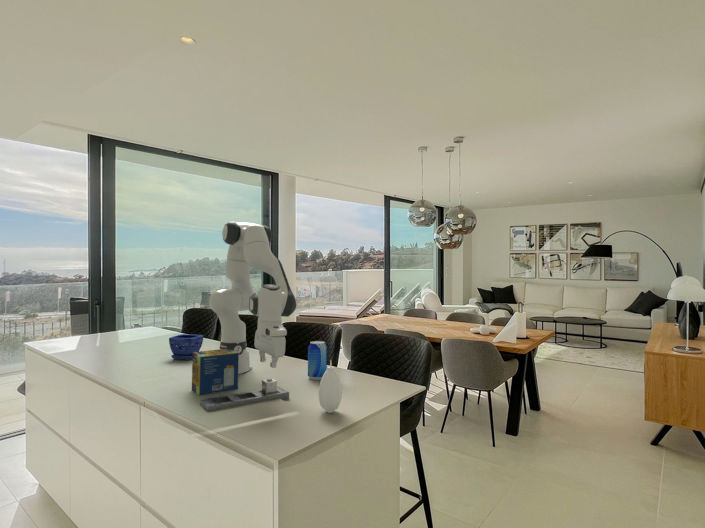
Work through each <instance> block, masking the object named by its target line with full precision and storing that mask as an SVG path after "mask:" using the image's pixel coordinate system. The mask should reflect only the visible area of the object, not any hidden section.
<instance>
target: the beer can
mask: <svg viewBox="0 0 705 528" xmlns="http://www.w3.org/2000/svg"><path fill="white" fill-rule="evenodd" d="M309 342H310V343H309V345H308V347H307V377H308V378H309V379H310V380H313V381H321V379H322V377H323V375H324V373H325V371H326V370H327V367H328V365H327V364H328V363H327V362H328V358H327V357H328V346H327V345H326V342H325V341H322V340H314V341H309Z"/></svg>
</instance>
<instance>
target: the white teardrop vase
mask: <svg viewBox="0 0 705 528" xmlns="http://www.w3.org/2000/svg"><path fill="white" fill-rule="evenodd" d="M342 394H343V388H342V384H341V379H340V377H339V374H338V372H337V371H336V370H335V366H333V365H332V359H330V362H329V366H327V370H326V371H325V373H324V375H323V377H322V379H321V380H320V383H319V386H318V400H319V404H320V406H321V409H323V410H324V412H325V413H328V414H333V413H334V412H336V410H338V408H340V407H339V406H340V404H341V402H342V396H343V395H342Z"/></svg>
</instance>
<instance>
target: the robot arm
mask: <svg viewBox="0 0 705 528" xmlns="http://www.w3.org/2000/svg"><path fill="white" fill-rule="evenodd" d="M221 233H222V240H223V242H224V243H225V244H227V245H229V246H228V249H227V255H226V261H225V263H226V264H225V272H224V275H225V277H226V278H227V279H228V280H229V281H230V282H231V288H222V289H218V290H216V291H213V292H212V293H211V294H210V296H209V298H208V303H209V307H210V309H211V311H212V312H214V313H215V314H216V316H217V317H218V319H219V323H220V327H221V329H220V330H221V331H220V332H221V335H220V336H221V339H220V340H221V341H220V343H219V349H227V348H230V349H232V350H234V351H235V352H237V353H239V360H238V375H239V374H240V375H241V374H245V373H246V372H248V371H251V370H252V369H253V366H252V365H251V364H250V362H251V361H250V351H248V350H247V344H248V343H247V339H246V337H247V334H246V332H247V331H246V330H247V327H246V326H247V325H246V323H245V322H244V321H243V320H241V318H240V316H239V312H243V311H244V312H245V311H249V312H250V313H251V314H252V315H253V316H256V317H258V318H257V329H256V330H255V334H254V342H253V343H254V348H255V349H256V350H258V355H259V361H260V362H261V363H266V362H267V357H266V354H267V355H269V356H271V361H270V368H272V369H274V368H277V365H278V364H277V363H278V361H279V358H283V357H284V356H285V353H286V343H287V340H286V337H285V336H287V334H288V330H287V329H286V327H284V324H283V323H282V317H285V318H287V317H290V316H291V315H292V314H293V313H294V312H295V311H296V308H297V300H296V297H295V294H294V293H293V291H292V289H291V287H290V286H291V285H290V283H289V280H288V277H287V275H286V272H285V270H284V267H283V264H282V262H281V260H280V259H279V258H277V257H276V256H275V255H274V253H273V252H272V250H271V247H270V244H271V241H272V238H273V233H272V230H271V228H270V227H269V226H267V225H265V224H258V223H254V222H245V221H243V222H242V221H241V222H240V221H238V222H237V221H235V220H234V221H232V220H231V221H228V222H226V223H225V224H224V226H223V229H222V232H221ZM251 268H253V269H254V270H258V271H261V272H262V273H263V272H264V273H266V274H268V275H270V276H271V277H272V278H273V280H274V282H275V284H271V283H270V284H269V283H267V284H261V286H260V288H259V291H257V292H256V291H255V290H254V289H253V287H252V285H251V284H252V283H251V279H250V276H251V275H250V274H251Z"/></svg>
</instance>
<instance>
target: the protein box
mask: <svg viewBox="0 0 705 528" xmlns="http://www.w3.org/2000/svg"><path fill="white" fill-rule="evenodd" d="M238 360H239V353H237V352H235V351H234V350H232V349H230V348H227V349H220V348H219V349H210V350H209V349H208V350H201V351H200V350H199V352H192V359H191V363H192V364H191V365H192V367H191V392H192V391H193V393H195V394H196V395H198V396H203V395H209V394H215V393H221V392H222V393H223V392H227V391H233V390H238V389H239V374H238Z"/></svg>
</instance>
